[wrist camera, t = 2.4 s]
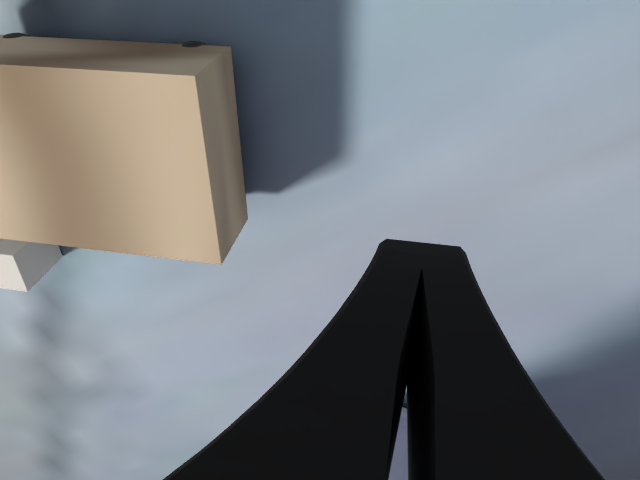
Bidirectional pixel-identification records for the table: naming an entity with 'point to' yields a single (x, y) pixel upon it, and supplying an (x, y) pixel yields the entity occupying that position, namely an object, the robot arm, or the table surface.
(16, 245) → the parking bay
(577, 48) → the table surface
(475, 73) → the table surface
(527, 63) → the table surface
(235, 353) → the table surface
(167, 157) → the tan block
